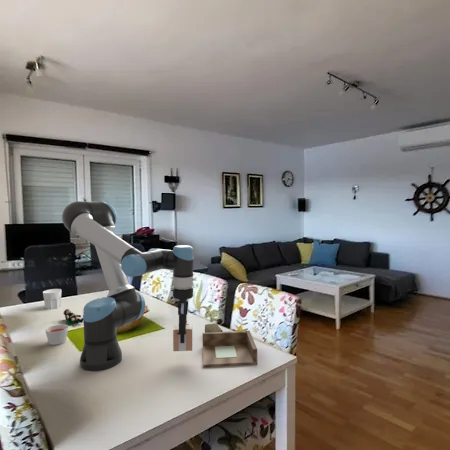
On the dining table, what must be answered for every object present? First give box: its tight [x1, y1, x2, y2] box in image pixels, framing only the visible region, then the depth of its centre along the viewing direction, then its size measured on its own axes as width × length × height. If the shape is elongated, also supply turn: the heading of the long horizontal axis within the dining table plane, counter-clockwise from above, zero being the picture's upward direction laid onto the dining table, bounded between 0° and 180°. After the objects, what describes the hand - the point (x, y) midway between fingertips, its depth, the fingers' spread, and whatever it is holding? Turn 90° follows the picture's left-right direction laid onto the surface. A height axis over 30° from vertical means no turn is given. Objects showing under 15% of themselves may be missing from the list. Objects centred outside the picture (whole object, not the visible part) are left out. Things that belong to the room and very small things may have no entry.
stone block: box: [204, 323, 224, 333], centre depth 148 cm, size 6×12×5 cm, turn 20°
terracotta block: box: [172, 323, 193, 352], centre depth 124 cm, size 7×5×8 cm
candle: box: [44, 324, 69, 346], centre depth 145 cm, size 9×9×6 cm
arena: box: [202, 330, 258, 368], centre depth 130 cm, size 20×18×6 cm
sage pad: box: [215, 346, 237, 358], centre depth 130 cm, size 8×10×1 cm
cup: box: [42, 288, 62, 310], centre depth 196 cm, size 10×10×10 cm
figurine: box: [63, 308, 84, 327], centre depth 170 cm, size 8×6×15 cm
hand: (182, 346), depth 124 cm, fingers closed on terracotta block, 5 cm apart
